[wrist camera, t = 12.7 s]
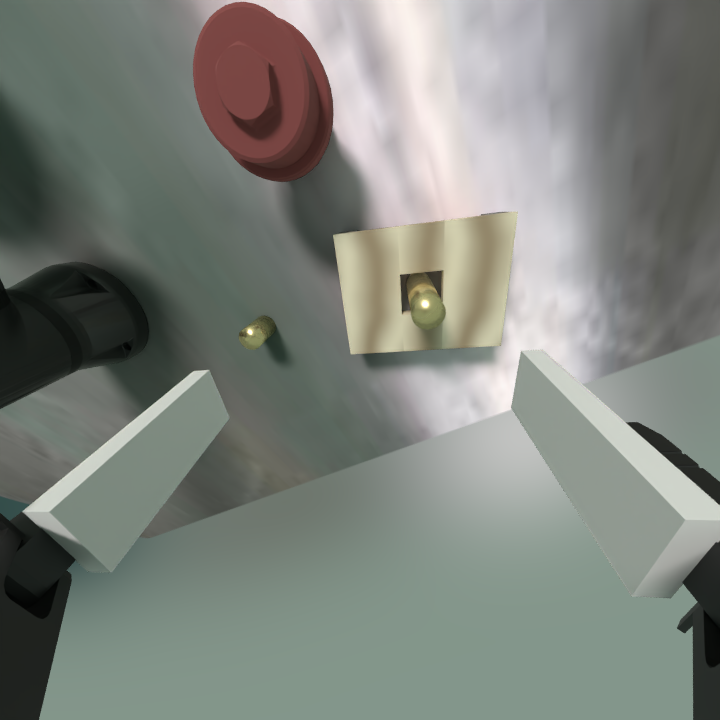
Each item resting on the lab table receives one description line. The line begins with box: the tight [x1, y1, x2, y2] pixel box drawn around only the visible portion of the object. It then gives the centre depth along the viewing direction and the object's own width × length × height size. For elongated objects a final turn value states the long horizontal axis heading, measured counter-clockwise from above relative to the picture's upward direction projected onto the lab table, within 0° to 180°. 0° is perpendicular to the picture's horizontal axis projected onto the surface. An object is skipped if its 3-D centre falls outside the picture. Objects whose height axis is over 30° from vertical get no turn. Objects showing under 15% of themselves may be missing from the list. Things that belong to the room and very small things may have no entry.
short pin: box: [239, 316, 276, 350], centre depth 38 cm, size 3×3×5 cm
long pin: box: [406, 272, 446, 330], centre depth 30 cm, size 3×3×12 cm
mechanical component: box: [193, 2, 333, 182], centre depth 24 cm, size 12×10×10 cm
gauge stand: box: [333, 212, 518, 354], centre depth 33 cm, size 18×14×5 cm
